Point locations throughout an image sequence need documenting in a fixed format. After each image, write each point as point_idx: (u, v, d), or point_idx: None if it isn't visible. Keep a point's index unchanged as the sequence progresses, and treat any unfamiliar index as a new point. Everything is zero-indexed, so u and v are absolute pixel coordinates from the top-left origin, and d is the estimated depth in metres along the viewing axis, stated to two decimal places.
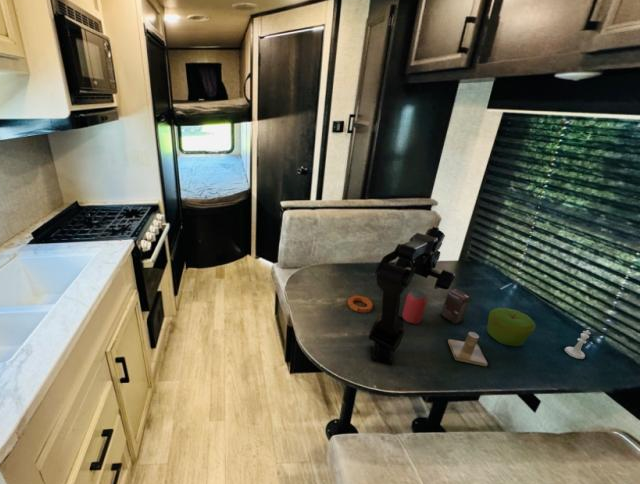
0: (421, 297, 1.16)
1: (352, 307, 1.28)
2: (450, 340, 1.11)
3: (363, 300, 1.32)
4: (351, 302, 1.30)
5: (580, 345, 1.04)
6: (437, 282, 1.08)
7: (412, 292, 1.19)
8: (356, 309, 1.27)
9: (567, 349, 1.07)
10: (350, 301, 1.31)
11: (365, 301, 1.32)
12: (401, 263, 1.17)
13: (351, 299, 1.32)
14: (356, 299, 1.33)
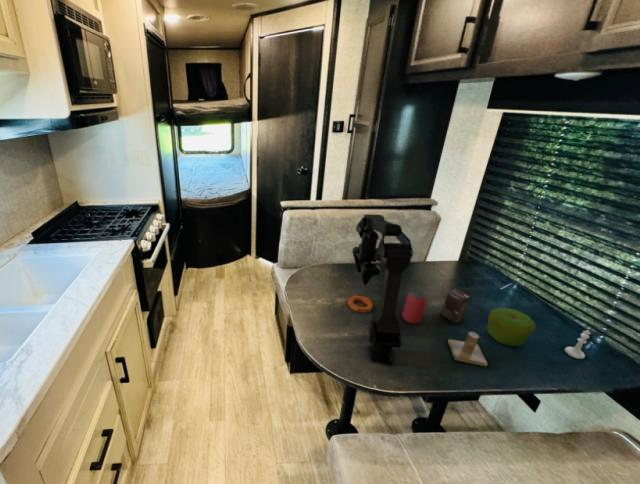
0: (421, 297, 1.16)
1: (352, 307, 1.28)
2: (450, 340, 1.11)
3: (363, 300, 1.32)
4: (351, 302, 1.30)
5: (580, 345, 1.04)
6: (362, 265, 1.21)
7: (412, 292, 1.19)
8: (356, 309, 1.27)
9: (567, 349, 1.07)
10: (350, 301, 1.31)
11: (365, 301, 1.32)
12: (358, 248, 1.32)
13: (351, 299, 1.32)
14: (356, 299, 1.33)
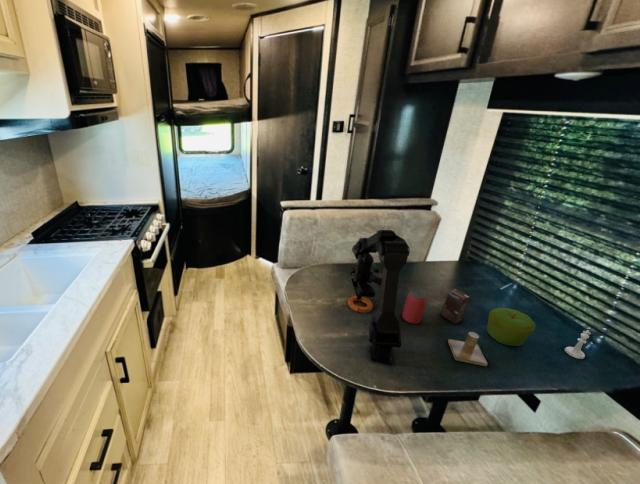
0: (421, 297, 1.16)
1: (352, 307, 1.28)
2: (450, 340, 1.11)
3: (363, 300, 1.32)
4: (351, 302, 1.30)
5: (580, 345, 1.04)
6: (358, 287, 1.25)
7: (412, 292, 1.19)
8: (356, 309, 1.27)
9: (567, 349, 1.07)
10: (350, 301, 1.31)
11: (365, 301, 1.32)
12: (354, 269, 1.36)
13: (351, 299, 1.32)
14: (356, 299, 1.33)
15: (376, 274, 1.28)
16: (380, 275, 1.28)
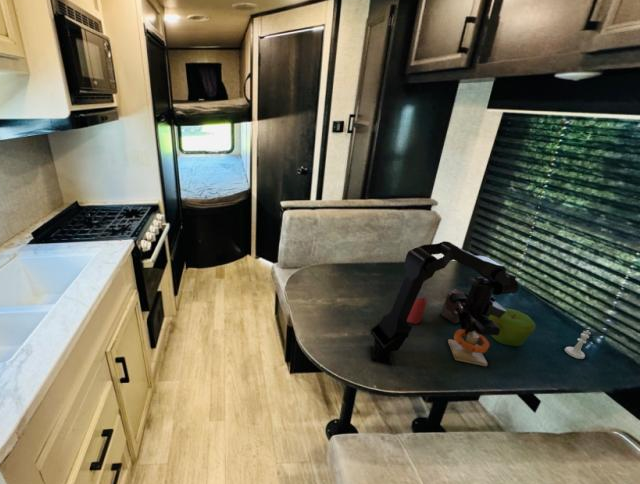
0: (421, 297, 1.16)
1: (464, 345, 1.02)
2: (450, 340, 1.11)
3: None
4: (461, 339, 1.04)
5: (580, 345, 1.04)
6: (475, 321, 0.99)
7: None
8: (470, 349, 1.01)
9: (567, 349, 1.07)
10: (459, 337, 1.05)
11: None
12: (458, 295, 1.10)
13: (459, 334, 1.06)
14: (463, 334, 1.07)
15: (494, 304, 1.02)
16: (499, 305, 1.02)
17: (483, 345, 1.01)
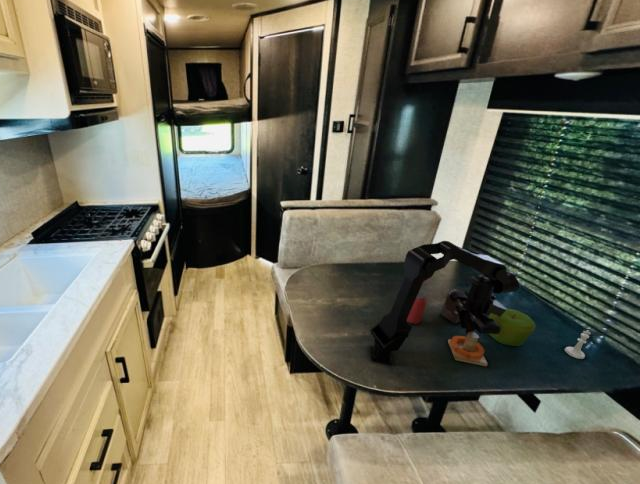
0: (421, 297, 1.16)
1: (459, 352, 1.05)
2: (450, 340, 1.11)
3: None
4: (456, 345, 1.06)
5: (580, 345, 1.04)
6: (475, 320, 0.98)
7: None
8: (465, 355, 1.03)
9: (567, 349, 1.07)
10: (454, 344, 1.07)
11: None
12: (459, 294, 1.10)
13: (454, 341, 1.08)
14: (459, 340, 1.09)
15: (495, 303, 1.02)
16: (499, 304, 1.02)
17: (478, 352, 1.04)
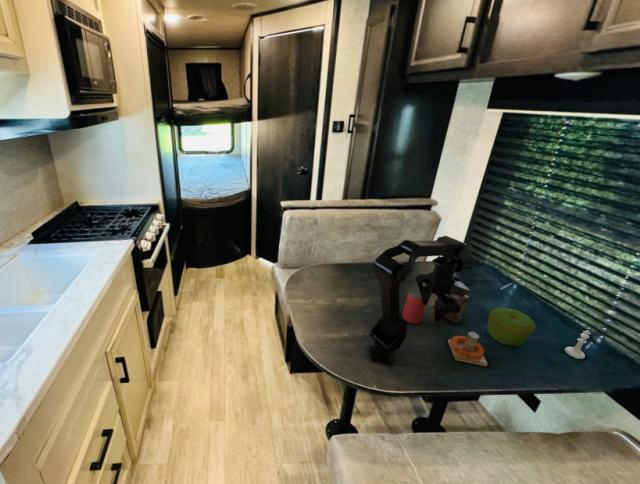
0: None
1: (459, 352, 1.05)
2: (450, 340, 1.11)
3: None
4: (456, 345, 1.06)
5: (580, 345, 1.04)
6: (437, 300, 0.99)
7: (412, 292, 1.19)
8: (465, 355, 1.03)
9: (567, 349, 1.07)
10: (454, 344, 1.07)
11: None
12: (424, 276, 1.10)
13: (454, 341, 1.08)
14: (459, 340, 1.09)
15: (457, 283, 1.02)
16: (462, 285, 1.02)
17: (478, 352, 1.04)
